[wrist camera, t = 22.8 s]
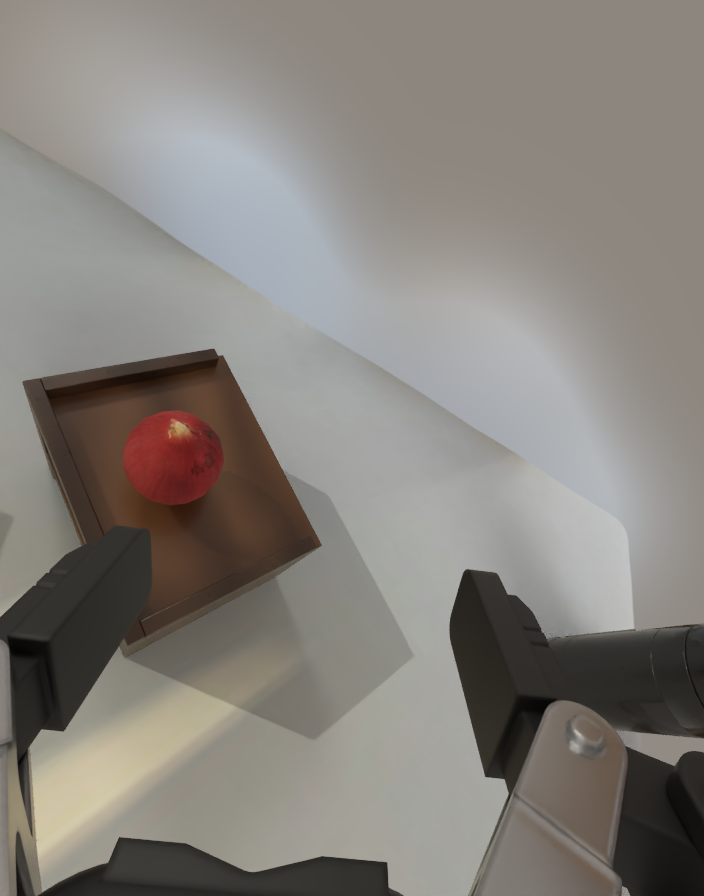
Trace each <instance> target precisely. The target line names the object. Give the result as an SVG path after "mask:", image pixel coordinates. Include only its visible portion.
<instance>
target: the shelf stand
mask: <svg viewBox="0 0 704 896" xmlns="http://www.w3.org/2000/svg"><path fill="white" fill-rule="evenodd" d="M23 386H24V389H25V392H26V395H27V399H28V401H29V405H30V408H31V411H32V414H33V418H34V421H35V424H36V427H37V430H38V434H39V437H40V440H41V443H42V446H43V450H44V453H45V456H46V459H47V462H48V465H49V468H50V470H51V473H52V475H53V478H54V479H56V481H57V483H58V486H59V488H60V491H61V494H62V496H63V499H64V501H65V504H66V506H67V509H68V511H69V514H70V516H71V519H72V521H73V524H74V527H75V529H76V532H77V534H78V537H79V539H80V542H81V544H82V546H83V545H85V544H87V543H94V544H96V543H97V542H98V541H99V540H100V539H101V538H102V537H103V536H104V535H105V534H106V533H107V532H108V531H109V530H110V529H111V528H112V527H114V526H116V525H119V526H127V527H136V528H144V529H148V530H149V531H150V534H151V552H152V577H153V580H152V588H151V592H150V595H149V598H148V600H147V603H146V604H145V606H144V608H143V609H142V611H141V612H140V614H139V616H138V617H137V619H136V620H135V622H134V623H133V625H132V626H131V628H130V629H129V631H128V633H127V634H126V636H125V637H124V639H123V640H122V642H121V643H120V645H119V646H120V648H121V651H122V653H123V656H124V658H125V657H127V656H129V655H131V654H133V653H135V652H136V651H138V650H140V649H142V648H144V647H146V646H148V645H149V644H151V643H153V642H155V641H157V640H159V639H161V638H162V637H164V636H166V635H168V634H170V633H172V632H174V631H175V630H177V629H179V628H181V627H183V626H185V625H187V624H188V623H190V622H192V621H194V620H196V619H198V618H200V617H201V616H203V615H205V614H207V613H209V612H211V611H213V610H214V609H216V608H218V607H220V606H222V605H224V604H226V603H227V602H229V601H231V600H233V599H235V598H237V597H239V596H240V595H242V594H244V593H246V592H248V591H250V590H252V589H253V588H255V587H257V586H259V585H261V584H263V583H265V582H266V581H268V580H270V579H272V578H274V577H276V576H277V575H279V574H280V573H282V572H283V571H285V570H286V569H288V568H289V567H291V566H292V565H294V564H295V563H297V562H298V561H300V560H301V559H303V558H304V557H306V556H307V555H309V554H310V553H312V552H313V551H314V550H316V549H317V548H319V547H320V546H322V545H321V543H320V541H319V539H318V537H317V535H316V534H315V532H314V530H313V528H312V526H311V524H310V522H309V520H308V518H307V516H306V514H305V512H304V510H303V509H302V507H301V505H300V503H299V501H298V499H297V497H296V495H295V493H294V491H293V489H292V487H291V485H290V484H289V482H288V480H287V478H286V476H285V474H284V472H283V470H282V468H281V466H280V464H279V462H278V460H277V459H276V457H275V455H274V453H273V451H272V449H271V447H270V445H269V443H268V441H267V439H266V437H265V435H264V434H263V432H262V430H261V428H260V426H259V424H258V422H257V420H256V418H255V416H254V414H253V412H252V410H251V409H250V407H249V405H248V403H247V401H246V399H245V397H244V395H243V393H242V391H241V389H240V387H239V385H238V384H237V382H236V380H235V378H234V376H233V374H232V372H231V370H230V368H229V366H228V364H227V362H226V360H225V359H224V357H223V355H222V356H218V355H217V353H216V351H215V349H209V350H203V351H197V352H191V353H185V354H179V355H173V356H167V357H162V358H156V359H150V360H144V361H138V362H132V363H126V364H120V365H114V366H108V367H102V368H96V369H90V370H85V371H79V372H73V373H67V374H61V375H55V376H49V377H43V378H41V379H40V378H38V379H32V380H26V381H23ZM164 411H182V412H186V413H190V414H194V415H195V416H196V417H198V418H199V419H201V420H202V421H204V422H205V423H207V424H209V425H210V427H211V428H212V429H213V430H214V431H215V433H216V434H217V435H218V436H219V438H220V440H221V445H222V451H223V457H224V462H223V467H222V469H221V472H220V475H219V478H218V481H217V482H216V483H215V484H214V485H213V486H212V487H211V488H210V489H209V490H208V491H207V492H206V493H205V494H204V495H203V496H202V497H200V498H198V499H196V500H193V501H191V502H189V503H187V504H177V505H165V504H161V503H157V502H153V501H149V500H148V499H147V498H145V497H144V496H143V495H141V494H140V493H139V492H137V491H136V490H135V489H134V488H133V486H132V484H131V483H130V481H129V479H128V478H127V476H126V474H125V471H124V466H123V454H122V452H123V449H124V446H125V444H126V441H127V439H128V436H129V434H130V432H131V431H132V430H133V429H134V428H135V427H136V426H137V425H138V424H139V423H140V422H141V421H142V420H143V419H144V418H146V417H149V416H152V415H155V414H158V413H161V412H164Z"/></svg>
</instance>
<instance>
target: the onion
mask: <svg viewBox="0 0 704 896" xmlns="http://www.w3.org/2000/svg"><path fill="white" fill-rule="evenodd" d="M122 454H123V466H124V471H125V474H126V476H127V478H128V479H129V481H130V483H131V484H132V486H133V488H134V489H135V490H136V491H137V492H139V493H140V494H141V495H143V496H144V497H145V498H147V499H148V500H149V501H153V502H157V503H161V504H165V505H177V504H187V503H189V502H191V501H193V500H196V499H198V498H200V497H202V496H203V495H204V494H205V493H206V492H207V491H208V490H209V489H210V488H211V487H212V486H213V485H214V484H215V483H216V482H217V481H218V478H219V475H220V472H221V469H222V467H223V462H224V457H223V451H222V445H221V440H220V438H219V436H218V435H217V434H216V433H215V431H214V430H213V429H212V428H211V427H210V425H209V424H207V423H205V422H204V421H202V420H201V419H199V418H198V417H196V416H195V415H194V414H190V413H186V412H182V411H164V412H161V413H158V414H155V415H152V416H149V417H146V418H144V419H143V420H142V421H141V422H140V423H139V424H138V425H137V426H136V427H135V428H134V429H133V430H132V431H131V432H130V434H129V436H128V439H127V441H126V444H125V446H124V449H123V452H122Z"/></svg>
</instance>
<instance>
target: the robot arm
mask: <svg viewBox="0 0 704 896" xmlns="http://www.w3.org/2000/svg"><path fill="white" fill-rule="evenodd" d="M152 580H153V577H152V552H151V534H150V531H149V530H148V529H144V528H136V527H127V526H119V525H116V526H114V527H112V528H111V529H110V530H109V531H108V532H107V533H106V534H105V535H104V536H103V537H102V538H101V539H100V540H99V541H98V542H97V543H96V544H94V543H87V544H85V545H83V546H81V547H79V548H77V549H76V550H74V551H72V552H70V553H68V554H66V555H65V556H64V557H63V558H62V559H61V560H60V561H59V562H58V563H57V564H56V565H55V566H53V567H52V568H51V569H50V572H49V573H46V574H45V575H44V576H43V577H42V578H41V579H40V580H39V581H38V582H37V584H36V586H33V587H32V588H30V589H29V590H28V591H27V592H26V593H25V594H24V595H23V596H22V597H21V598H20V599H19V600H18V601H17V602H16V603H15V604H14V605H13V606H12V607H11V608H10V609H9V610H7V611H6V612H5V613H4V614H3V615H2V616H1V617H0V896H403V895H402V894H400V893H399V892H397V891H395V890H392V889H390V888H388V869H387V862H377V861H366V860H355V859H345V858H334V857H323V856H322V857H318V858H314V859H310V860H306V861H301V862H297V863H293V864H289V865H285V866H280V867H276V868H272V869H268V870H264V871H260V872H247V871H244V870H242V869H240V868H237V867H235V866H233V865H231V864H229V863H227V862H225V861H222V860H220V859H218V858H216V857H214V856H212V855H210V854H207V853H205V852H203V851H201V850H199V849H197V848H194V847H192V846H190V845H188V844H185V843H174V842H163V841H152V840H142V839H131V838H120V837H119V839H118V841H117V843H116V846H115V848H114V850H113V853H112V855H111V858H110V860H109V862H108V863H106V864H101V865H98V866H95V867H92V868H90V869H87V870H84V871H81V872H79V873H77V874H75V875H73V876H71V877H69V878H67V879H65V880H63V881H61V882H59V883H57V884H55V885H54V886H52V887H51V888H49V889H47V890H46V891H44V892H42V887H41V879H40V871H39V865H38V856H37V846H36V831H35V816H34V800H33V785H32V770H31V754H30V749H29V746H30V745H31V743H32V742H33V740H34V739H35V738H36V736H37V735H38V733H39V732H40V730H41V729H45V730H55V731H64V730H65V729H66V727H67V726H68V724H69V723H70V721H71V719H72V718H73V716H74V715H75V713H76V712H77V710H78V709H79V707H80V706H81V704H82V702H83V701H84V699H85V698H86V696H87V695H88V693H89V692H90V690H91V688H92V687H93V685H94V684H95V682H96V681H97V679H98V678H99V676H100V674H101V673H102V671H103V670H104V668H105V667H106V665H107V664H108V662H109V661H110V659H111V657H112V656H113V654H114V653H115V651H116V650H117V648H118V647H119V645H120V643H121V642H122V640H123V639H124V637H125V636H126V634H127V633H128V631H129V629H130V628H131V626H132V625H133V623H134V622H135V620H136V619H137V617H138V616H139V614H140V612H141V611H142V609H143V608H144V606H145V604H146V603H147V600H148V598H149V595H150V592H151V588H152ZM450 641H451V645H452V649H453V653H454V657H455V661H456V664H457V668H458V672H459V676H460V680H461V684H462V688H463V692H464V696H465V699H466V703H467V707H468V711H469V715H470V719H471V723H472V727H473V731H474V734H475V738H476V742H477V746H478V750H479V754H480V758H481V762H482V766H483V770H484V773H485V777H491V778H501V779H505V782H506V785H507V789H508V792H509V795H508V797H507V799H506V802H505V804H504V807H503V809H502V812H501V814H500V817H499V819H498V822H497V824H496V827H495V829H494V832H493V834H492V837H491V839H490V842H489V844H488V847H487V849H486V852H485V854H484V857H483V859H482V862H481V864H480V867H479V869H478V872H477V874H476V877H475V879H474V882H473V884H472V887H471V889H470V892H469V894H468V896H621V893H622V886H624V887H626V888H628V891H629V893H630V896H704V753H703V752H697V751H691V752H687V753H685V754H683V755H682V756H681V757H680V759H679V761H678V762H677V764H676V765H675V766H672V765H670V764H667V763H665V762H662V761H660V760H658V759H655V758H653V757H650V756H648V755H645V754H643V753H640V752H638V751H635V750H633V749H631V748H628V747H626V746H625V745H624V743H623V741H622V740H621V738H620V736H619V735H618V733H617V732H616V731H615V730H619V731H630V732H641V733H651V734H662V735H673V736H683V737H694V738H704V623H702V624H693V625H683V626H674V627H665V628H655V629H645V630H635V629H631V630H621V631H612V632H602V633H592V634H583V635H573V636H566V637H565V638H561V637H556V638H549V639H546V637H545V635H544V633H542V632H541V628H540V626H539V624H538V622H537V620H536V618H535V616H534V614H533V612H532V611H531V610H530V609H529V608H528V607H527V606H526V605H525V604H524V603H523V602H522V601H521V600H520V599H519V598H518V597H517V596H514V595H507V593H506V590H505V588H504V586H503V584H502V582H501V580H500V578H499V576H498V574H497V573H493V572H485V571H477V570H469V569H467V570H465V571H464V573H463V575H462V579H461V582H460V586H459V589H458V592H457V596H456V599H455V603H454V606H453V610H452V613H451V618H450Z"/></svg>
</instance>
